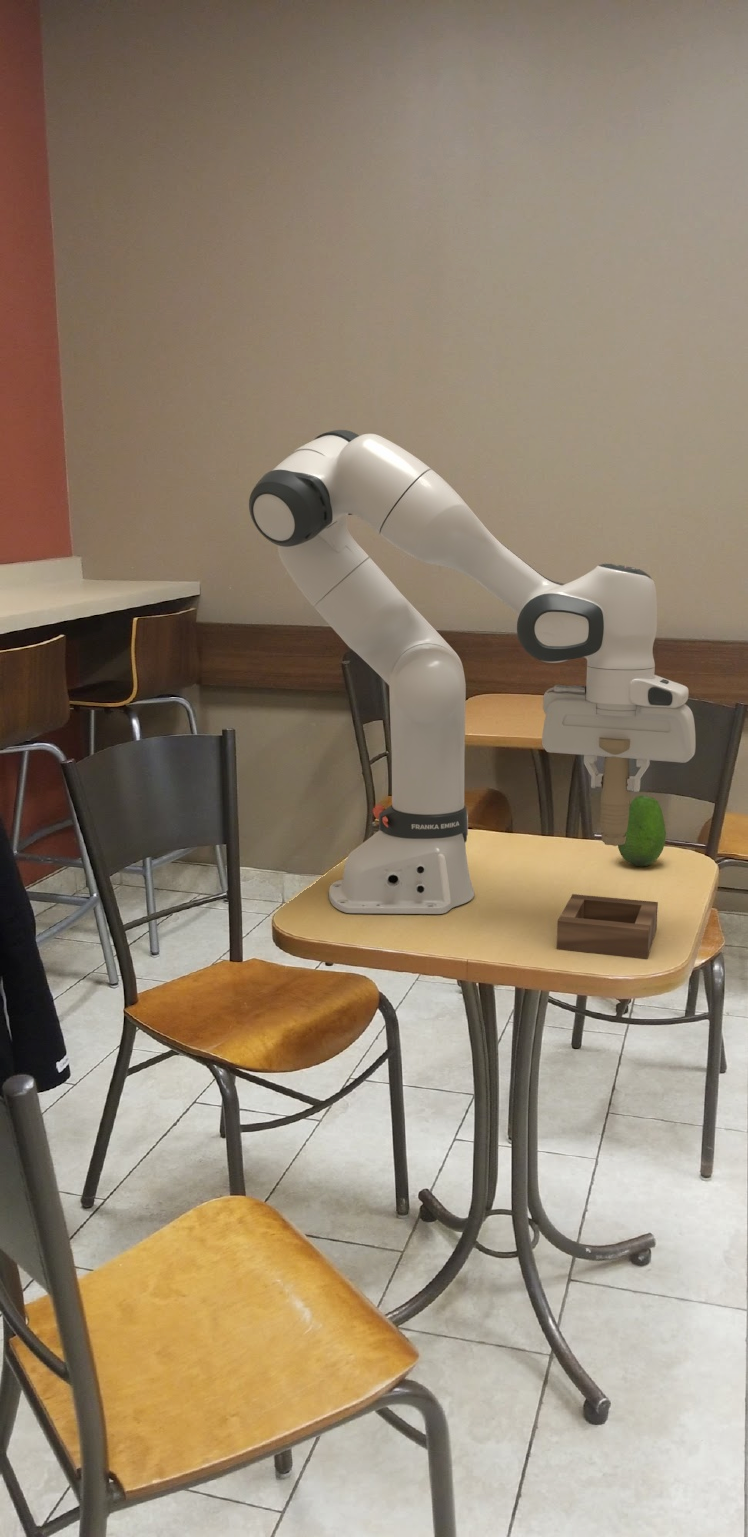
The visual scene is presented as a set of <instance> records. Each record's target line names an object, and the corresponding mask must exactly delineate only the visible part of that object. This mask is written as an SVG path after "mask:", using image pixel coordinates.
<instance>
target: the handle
mask: <svg viewBox="0 0 748 1537" xmlns="http://www.w3.org/2000/svg"><path fill="white" fill-rule="evenodd" d="M599 747H600V748H602V749H603V750H604V751H606V752H608V753H610V754H613V755H618V754H621V753H623V752H625V751H627V750H629V747H630V740H626V739H612V738H600V737H599ZM602 774H603V783H602V789H601V794H600V810H599V811H600V814H599V815H600V829H601V835H600V836H601V842H602V843H603V844H604V845H606V846H614V847H616V846H617V847H618V845H623V844H624V843H625V841H626V835H625V833H626V832H627V827H628V820H629V807H630V804H631V793H630V792H631V791H627V786H628V784H627V779H628V778H629V777H630V758H619V757H615V756H613V757H604V764H603V773H602Z"/></svg>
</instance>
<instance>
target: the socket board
mask: <svg viewBox="0 0 748 1537" xmlns="http://www.w3.org/2000/svg"><path fill="white" fill-rule="evenodd" d="M570 896H571V897H570V898H569V900H568V901H567V902H566V905H565V906H564V908H563V910H562V912H561V914H560V915H559V917H558V919H557V923H556V924H557V926H556V927H557V928H556V929H557V930H556V950H563V951H572V952H582V953H590V954H598V955H599V954H600V955H607V956H615V957H616V956H618V957H624V958H625V957H627V958H636V959H637V958H638V959H645V960H648V958H649V955H650V952H651V948H652V946H653V942H654V939H655V936H656V932H657V929H658V911H659V910H658V906H659V905H658V904H659V902H658V901H649V900H640V899H629V898H618V897H605V896H598V895H597V896H595V895H585V894H576V893H575V894H574V893H572V894H571V895H570Z"/></svg>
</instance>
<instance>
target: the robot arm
mask: <svg viewBox="0 0 748 1537" xmlns="http://www.w3.org/2000/svg"><path fill="white" fill-rule="evenodd" d="M248 509H249V515H250V518H251V521H252V523H253V525H254V526H255V528H256V529H257V531H258V532H259V533H260V534H261V535H262V536H263V537H264V538H265V539H266V540H268V541H269V542H270V543H272V544H275V545H277V552H278V557H279V559H280V561H281V563H282V565H283V566H284V568H285V570H286V572H287V573H288V575H289V577H290V578H291V579H292V581H293V582H294V584H295V585H296V587H297V588H298V589H299V590H300V592H301V593H302V595H303V596H304V597H305V599H307V602H309V603H310V605H311V606H312V607H314V609H315V610H316V611H317V612H318V613H319V615H320V616H321V617H322V618H323V619H324V621H326V623H327V624H328V625H329V626H330V628H332V629H333V631H334V632H335V633H336V634H337V635H338V637H339V638H341V640H342V641H343V642H344V643H345V645H347V647H348V648H349V649H350V650H352V651H353V652H354V653H356V654H357V655H358V656H359V657H360V658H361V659H362V660H363V661H364V662H365V663H366V664H367V665H369V667H370V668H371V669H372V670H373V671H374V672H375V673H376V674H378V675H379V676H380V678H381V679H382V680H383V681H384V682H385V683H386V684H387V685H388V688H389V717H390V719H389V720H390V721H389V722H390V741H391V742H390V746H391V748H390V749H391V803H392V804H390V805H389V806H388V807H384V805H383V804H377V805H375V806H374V807H373V809H372V813H373V815H374V817H375V818H376V819H377V820H378V829H379V830H378V831H377V832H376V833H374V834H373V835H371V837H369V838H368V839H366V840H365V841H364V842H363V843H360V844H359V846H357V847H356V848H355V849H353V850H352V851H351V852H350V853H349V854H348V856H347V858H346V861H345V864H344V869H343V872H342V873H343V875H342V879H340V880H339V879H338V880H336V881H334V882H333V883H331V885H330V886H329V889H328V898H329V902H330V903H331V906H333V907H334V908H335V909H337V910H338V911H340V912H343V913H347V914H391V915H393V914H403V915H404V914H405V915H406V914H409V915H411V914H414V915H415V914H417V915H419V914H420V915H427V914H428V915H441V914H446V913H447V912H449V911H450V910H452V909H453V908H455V907H458V906H461V905H463V904H466V903H468V902H470V901H472V900H473V899H474V897H475V891H474V888H473V884H472V881H471V876H470V872H469V871H470V870H469V865H468V859H467V857H468V856H467V848H466V843H467V840H468V839H467V838H468V834H469V815H468V814H469V813H468V807H467V806H466V805H465V756H466V755H465V753H466V750H465V747H466V699H467V698H466V691H467V690H466V688H467V685H466V677H465V672H464V670H465V669H464V667H463V666H464V665H463V663H462V660H461V658H460V657H459V655H458V654H457V652H456V651H455V650H454V649H453V647H451V645H450V644H449V643H448V642H447V641H446V640H445V639H444V637H442V636H441V634H440V633H439V632H438V631H437V629H435V628H434V627H433V626H432V625H431V624H430V623H429V622H428V621H427V619H426V618H425V617H424V616H423V615H422V613H420V612H419V610H417V609H416V608H415V607H414V605H413V604H412V603H411V602H410V601H409V600H408V599H407V598H406V597H405V596H404V595H403V593H401V592H400V590H399V589H398V588H397V587H396V585H395V584H394V583H393V582H392V581H391V580H390V578H389V577H388V576H387V575H386V574H385V572H383V571H382V569H381V568H380V567H379V565H377V564H376V563H375V562H374V561H373V559H372V558H371V557H370V556H369V555H368V554H367V552H366V551H365V550H364V549H363V548H362V547H361V546H360V545H359V544H358V542H356V540H355V539H354V537H353V536H352V534H351V533H350V531H349V528H348V517H349V516H351V515H353V516H356V517H358V518H360V519H361V520H363V521H364V522H365V523H366V524H368V526H370V527H371V528H372V529H373V530H374V531H375V532H376V533H378V534H379V535H380V536H381V537H382V538H383V539H384V540H386V541H387V542H389V544H391V545H392V546H394V547H395V548H397V549H398V550H400V551H401V552H403V553H405V554H407V555H408V556H410V557H412V558H414V559H416V560H418V561H419V562H422V563H425V564H428V565H433V566H439V567H442V568H446V569H450V570H453V571H456V572H458V573H461V574H463V575H465V576H467V577H468V578H471V579H472V580H474V581H475V582H477V583H478V584H479V585H481V586H482V587H483V588H484V589H485V590H487V591H488V593H490V594H492V595H493V596H494V597H496V598H497V599H498V600H500V601H501V602H502V603H503V604H505V605H506V606H507V607H508V608H510V610H512V611H513V612H514V613H515V614H516V615H517V616H518V618H517V622H516V633H517V638H518V641H519V643H520V644H521V647H522V648H523V649H524V651H525V652H526V653H527V654H528V655H529V656H531V657H533V658H534V659H536V660H539V661H541V662H545V663H551V664H553V663H554V664H557V663H562V662H566V661H569V660H570V661H571V660H574V659H575V660H576V659H579V658H580V659H581V658H585V659H586V682H585V683H586V685H564V684H555V685H554V686H553V687H550V688H548V689H547V690H546V691H545V693H544V694H543V698H542V710H543V713H544V714H545V717H544V720H543V721H544V722H543V728H542V736H541V745H542V747H543V749H545V751H546V752H547V753H553V754H554V753H555V754H556V753H557V754H568V755H578V756H579V755H581V756H583V764H584V765H585V766H584V767H586V770H587V771H588V773H589V775H590V778H591V779H590V780H591V781H590V787H591V788H592V789H601V790H602V783H603V773H600V772H599V770H598V768H597V766H596V764H595V763H596V761H598V757H604V758H605V757H613V756H615V757H619V758H629V760H630V759H634V760H636V761H635V763H636V764H635V765H636V768H639V769H638V771H637V772H636V774H635V775H634V776H633V775H632V776H631V775H629V778H628V779H627V784H628V786H627V791H630V792H635V793H638V792H640V790H641V778H642V777H643V775H644V774H645V772H646V771H647V769H648V768H649V766H650V764H651V763H650V762H651V761H659V762H670V763H671V762H672V763H682V764H683V763H687V762H689V761H690V760H692V758H693V757H694V756H695V754H696V727H695V718H694V714H693V711H692V710H691V708H690V707H689V706H688V705H687V704H686V703H687V702H688V699H689V692H690V691H689V688H688V687H687V686H686V685H683V684H682V683H679V682H676V681H672V680H670V679H667V678H664V677H661V676H659V675H657V674H655V669H656V668H655V667H656V663H655V659H654V653H653V649H654V648H653V647H654V642H655V641H656V640H655V639H656V636H657V631H658V630H657V629H658V596H657V589H656V585H655V581H654V580H653V578H652V577H651V575H649V574H648V573H647V572H645V571H644V570H642V569H638V568H636V567H631V566H628V565H627V566H626V565H621V564H612V563H602V564H598V565H597V566H595V568H593V569H592V570H591V571H589V572H587V573H586V574H585V575H581V576H580V577H577V578H576V579H574V580H572V581H570V582H567V583H563V582H559V581H554V580H552V579H549V578H547V577H546V576H544V575H542V574H541V573H540V572H538V571H537V570H535V568H533V567H532V566H531V565H529V564H528V563H527V562H526V561H524V560H523V559H522V558H520V557H519V556H518V555H517V554H516V553H514V552H513V551H511V549H509V548H508V547H506V546H505V545H504V544H503V543H502V542H500V541H499V540H498V539H497V538H496V537H495V536H494V535H493V534H492V533H491V531H489V529H488V527H486V526H485V525H484V524H483V522H482V521H481V520H480V518H479V517H478V516H477V515H476V514H475V513H474V511H473V510H472V508H470V506H469V505H468V504H467V503H466V502H465V501H464V499H463V498H462V497H461V495H460V494H459V493H458V492H456V490H455V489H454V488H453V487H452V486H451V485H450V484H449V483H448V481H446V480H445V479H443V477H442V476H440V475H439V474H438V472H435V470H434V469H432V468H431V467H429V466H428V465H427V464H426V463H424V461H422V460H420V459H419V458H417V456H415V455H414V454H412V453H410V452H409V451H407V450H406V449H404V448H403V447H401V446H399V445H398V444H396V443H394V442H393V441H391V440H389V439H387V438H385V437H383V436H381V435H378V434H376V433H365V434H360V435H359V434H358V433H356V432H353V431H351V430H348V429H336V430H335V429H334V430H329V431H327V432H324V433H322V434H319V435H318V436H316V437H315V438H314V439H313V440H311V441H310V442H307V443H306V444H303V445H302V446H299V447H297V448H296V449H294V450H293V451H292V452H291V453H290V454H288V455H287V456H286V458H284V459H283V460H282V461H281V462H280V463H278V465H276V466H275V467H274V468H273V469H272V470H270V471H268V472H267V473H265V474H264V475H263V476H262V477H261V478H260V479H259V480H258V482H257V483H256V484H255V486H254V487H253V489H252V491H251V493H250V496H249V499H248ZM552 691H553V692H552ZM599 737H600V738H612V739H626V740H630V747H629V750H627V751H625V752H623V753H621V754H618V755H613V754H610V753H608V752H606V751H604V750H603V749H602V748H600V747H599Z"/></svg>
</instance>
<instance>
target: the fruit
mask: <svg viewBox="0 0 748 1537" xmlns="http://www.w3.org/2000/svg"><path fill="white" fill-rule="evenodd" d="M666 832H667V831H666V825H665V820H664V815H663V810H662V808H661V806H660V803H659V801H658V800H656V799H655V798H654V797H653V796H649V795H644V794H643V795H640V796H639V795H638V796H636V797H635V798H633V800H632V801H630V807H629V820H628V827H627V832H626V833H625V835H626V841H625V843H624V844H623V845H617V848H618V852H619V854H620V855H621V857H622V858H623V859H624V861H626V863H629V864H630V865H632V866H636V867H646V866H650V865H652V864H654V863H655V862H656V861H657V860H658V859H659V857H660V856H661V854H662V853H663V851H664V848H665V845H666V834H667V833H666Z"/></svg>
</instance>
